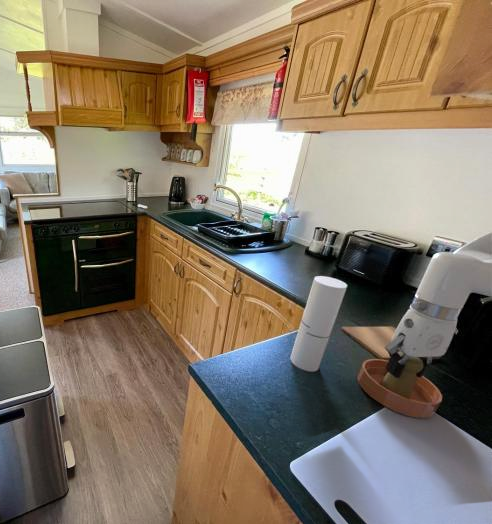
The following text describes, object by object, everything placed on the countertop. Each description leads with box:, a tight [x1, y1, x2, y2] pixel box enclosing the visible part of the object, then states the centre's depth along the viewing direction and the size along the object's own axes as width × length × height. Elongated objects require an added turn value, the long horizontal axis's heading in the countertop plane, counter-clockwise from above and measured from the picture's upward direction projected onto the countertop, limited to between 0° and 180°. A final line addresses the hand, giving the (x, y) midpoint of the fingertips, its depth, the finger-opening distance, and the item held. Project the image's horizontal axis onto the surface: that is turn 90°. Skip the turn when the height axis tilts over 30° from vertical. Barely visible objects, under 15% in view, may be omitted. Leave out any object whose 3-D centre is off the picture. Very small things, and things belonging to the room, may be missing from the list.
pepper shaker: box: [380, 352, 423, 399], centre depth 70 cm, size 6×6×11 cm
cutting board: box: [340, 325, 442, 361], centre depth 93 cm, size 20×16×1 cm
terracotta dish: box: [357, 358, 443, 419], centre depth 71 cm, size 15×15×4 cm
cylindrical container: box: [289, 275, 348, 372], centre depth 77 cm, size 7×7×25 cm
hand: (403, 372), depth 70 cm, fingers closed on pepper shaker, 5 cm apart
